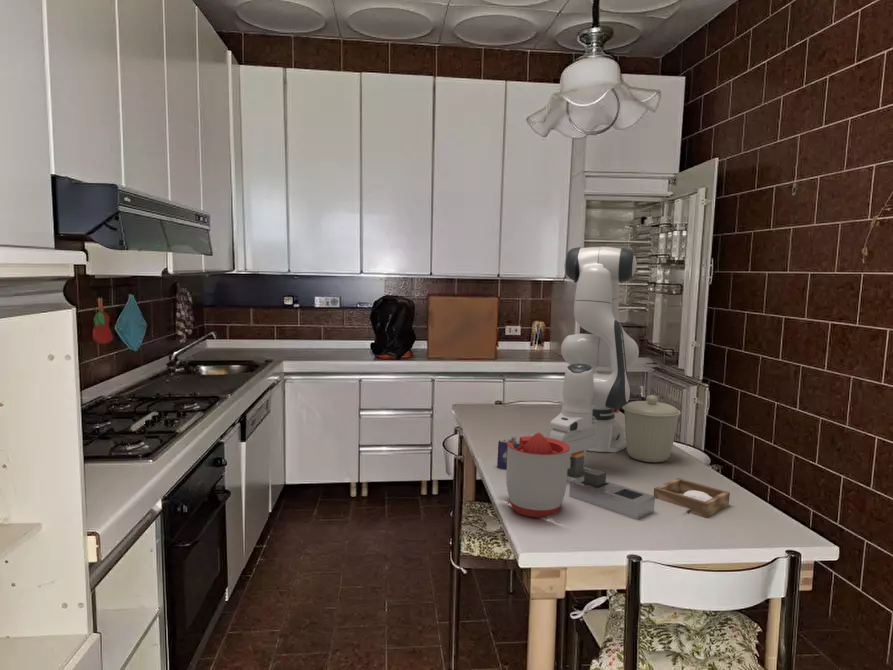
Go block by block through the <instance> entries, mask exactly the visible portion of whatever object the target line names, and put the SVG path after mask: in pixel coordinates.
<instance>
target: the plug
mask: <svg viewBox="0 0 893 670" xmlns="http://www.w3.org/2000/svg"><path fill="white" fill-rule="evenodd" d="M570 460H571V462H573V465H572V468H569V469H567V476H569V477H572V478H577V477H579V476H580V477H581V476H584V471H583V468H584V467H585V466H584V465H585V464H584V463H585V457H584V452H582V451H580V452H577V453H573V454H571V457H570Z"/></svg>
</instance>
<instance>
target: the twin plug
mask: <svg viewBox="0 0 893 670" xmlns="http://www.w3.org/2000/svg"><path fill="white" fill-rule="evenodd" d="M590 469H591V470H588V471H583V476H584V484H586V485H589V486H592V487H595V488H600V487H602V486H605V484H606V481H607V480H606V479H607V471H602V470H599V469H596V468H590Z"/></svg>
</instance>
